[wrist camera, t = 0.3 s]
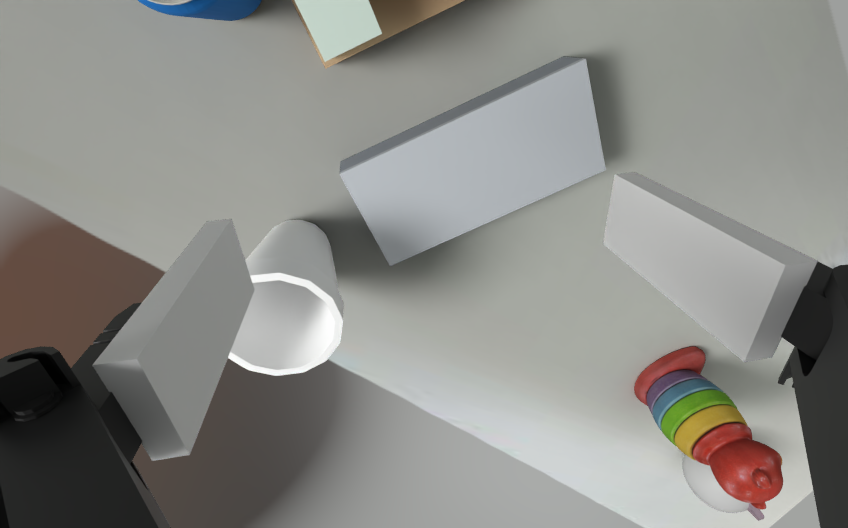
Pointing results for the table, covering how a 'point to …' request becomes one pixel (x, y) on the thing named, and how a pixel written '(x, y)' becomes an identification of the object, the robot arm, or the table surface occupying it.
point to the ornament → (713, 489)
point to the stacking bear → (709, 427)
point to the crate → (338, 24)
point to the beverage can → (205, 8)
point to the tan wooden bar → (390, 20)
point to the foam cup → (290, 302)
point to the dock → (478, 160)
